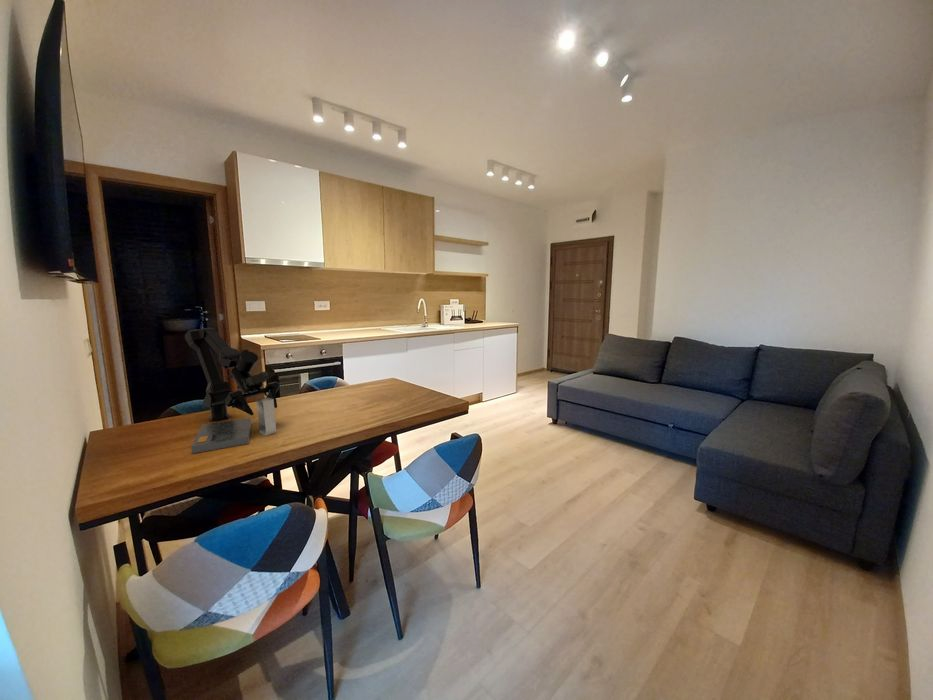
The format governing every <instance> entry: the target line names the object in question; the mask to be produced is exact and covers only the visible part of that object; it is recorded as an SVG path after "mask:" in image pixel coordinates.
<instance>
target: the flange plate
mask: <svg viewBox="0 0 933 700" xmlns="http://www.w3.org/2000/svg"><path fill="white" fill-rule="evenodd" d="M251 428H252V418H251V417H246V418H241V419H234V420H233V419H232V420H226V421H219V422H218V421H217V422H212V423H211V422H210V423H206V424H205V423H204V424H201V426H200V428H199V430H198V432H197V434H196V436H195V438H194V440H193V442H192V444H191V446H190V449H191V454H197V453H198V454H199V453H204V452H211V451H215V450H222V449H227V448H232V447H238V446H243V445H249V443H250V436H251V430H252V429H251Z"/></svg>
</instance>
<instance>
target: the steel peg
mask: <svg viewBox="0 0 933 700" xmlns="http://www.w3.org/2000/svg"><path fill="white" fill-rule="evenodd" d="M256 409H257V418H258V429H259V434H261V435H263V436H265V437H266V436H269V435H272V434H275V433H277V423H276V411H275V408H274V399H271V398H266V397H264V398H260V399H256Z"/></svg>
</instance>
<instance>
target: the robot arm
mask: <svg viewBox="0 0 933 700" xmlns="http://www.w3.org/2000/svg"><path fill="white" fill-rule="evenodd" d="M184 339H185V341H186V343H187V344H188V346H189V348H191V350H194V351H195V352H196V354H197V357H198V360H199V362H200V366H201V367H202V371H203V374H204V376H205V377H204V378H205V379H206V381H207V382H206V383H207V386H206V389H205V397H204V399H203V400H202V401H203V402H202V403H203V406H204V407H205V408H209V409H210V418H209V422H210V421H211V422H216V421H217V422H218V421H224V420H228V419H229V418H230V416H231V415H230V413H228V408H229V407H231V408H235V409H237V410H240V411H242V412H244V413H246V414H248V415H250V416H254V411H253V409H252V408H251V407H250V405H249V403H248V402H247V401H246V399H247V398H251V397H255V396H259V395H262V394H264V396H265V398H271V399H274V409H277V408H278V404H277V402H278V401H277V397H276V396H277V392H278V391H279V390H280V388H281V385H280V383H279V382H278V381H274V382H269V383H266V385H265V387H263V384H264V383H265V382H267V380H269V379H270V376H269V373H268V372H267V371H261V372H260V373H257V374H254V375H252V373H251V371H253V369H254V368H255V365H256V364H257V362H258V361H259V356H258V355H257V354H256V353H255V352H252V351H249V350H248V349H242V350H241V351H240V350H238V349H237V348H236V349H235V348H234V347H231V346H230V345H229V344H228V343H227V342H226V340H224V339H223V338H222V337H221V335H220V334H219V333H218V331H217V329H216V328H215V327H205V328H202V329H190V330H187V331H186V333H184ZM211 348H212V349H213V351H214V352H215V353H216V355H218V362H219V364H220V366H221V367H222V368H223V369H225V370H228V369H231V370H230V372H229V373H230V374H229V379H234V381H235V383H236V384H237V386H236V388H237V389H238V390H235V391H233V390H232V388H231V387H230V383H229V382H228V381H225V380H223V379H222V377H221V374H220V371H219V369H218V366H217V363H216V360H215V358H214V355H213V352H212V350H211ZM262 387H263V388H262Z"/></svg>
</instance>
